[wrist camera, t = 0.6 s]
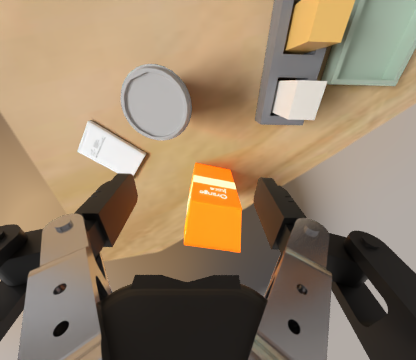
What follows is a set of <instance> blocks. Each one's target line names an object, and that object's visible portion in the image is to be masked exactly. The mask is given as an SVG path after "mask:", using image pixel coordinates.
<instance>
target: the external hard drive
mask: <svg viewBox="0 0 416 360" xmlns="http://www.w3.org/2000/svg"><path fill="white" fill-rule="evenodd" d="M78 152H79V153H81V154H83V155H85V156H86V157H88V158H90V159H92V160H94V161H96V162H98V163H100V164H101V165H103V166H105V167H107V168H109V169H111V170H113V171H115V172H116V173H126V174H132V175H133V176H134V175H135V173H136V171H137V169H138V168H139V166H140V164H141V163H142V161H143V159H144V157H145V156H146V154H147V153H145V152H143V151H142V150H140V149H138V148H137V147H135V146H133V145H132V144H130V143H128V142H127V141H125V140H123V139H122V138H120V137H118V136H117V135H115V134H113V133H112V132H110V131H108V130H107V129H105V128H103V127H101V126H100V125H98V124H96V123H95V122H93V121H91V120H90V121H88V122H87V125H86V128H85V131H84V134H83V137H82V139H81V142H80V145H79V148H78Z"/></svg>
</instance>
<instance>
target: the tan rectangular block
mask: <svg viewBox="0 0 416 360" xmlns="http://www.w3.org/2000/svg"><path fill="white" fill-rule="evenodd" d="M354 3H355V0H301V1H299V2H298V3H297V4H296V5H295V6H294V7H293V8H292V13H291V17H290V22H289V27H288V32H287V37H286V42H285V46H284V51H283V54H298V55H300V54H304V53H307V52H311V51H314V50H317V49H321V48H324V47H327V46H331V45H334V44H338V43H341V41H342V38H343V35H344V32H345V29H346V26H347V23H348V20H349V17H350V14H351V11H352V8H353V6H354Z"/></svg>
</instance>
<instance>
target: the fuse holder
mask: <svg viewBox="0 0 416 360" xmlns="http://www.w3.org/2000/svg"><path fill="white" fill-rule="evenodd" d="M299 1H301V0H274V5H273V11H272V17H271V23H270V30H269V36H268V42H267V48H266V54H265V60H264V67H263V73H262V79H261V85H260V91H259V97H258V103H257V110H256V116H255V121H257V122H258V123H259V124H267V125H303V122H304V120H288V119H286V118H283V117H281V116H279V115H277V114H274V113H271V109H272V105H273V100H274V95H275V90H276V85H277V80H278V78H296V80H308V81H317V77H318V74H319V71H320V68H321V65H322V61H323V58H324V55H325V52H326V48H327V47H324V48H321V49H317V50H314V51H311V52H307V53H304V54H303V55H298V54H283V51H284V46H285V42H286V37H287V32H288V27H289V22H290V17H291V13H292V8H293V7H294V6H295V5H296V4H297V3H298V2H299Z"/></svg>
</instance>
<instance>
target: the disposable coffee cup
mask: <svg viewBox="0 0 416 360" xmlns="http://www.w3.org/2000/svg"><path fill="white" fill-rule="evenodd" d="M121 106H122V109H123V113H124V115H125V117H126V119H127V121H128V122H129V124H130V125H131V126H132V127H133V128H134V129H135V130H136V131H137V132H139V133H140V134H142V135H143V136H146V137H148V138H151V139H155V140H169V139H172V138H175V137H177V136H178V135H180V134H181V133H182V132H183V131H184V130H185V128H186V127H187V125H188V123H189V121H190V118H191V112H192V105H191V98H190V95H189V92H188V89H187V87H186V86H185V84H184V82H183V81H182V80H181V79H180V77H179V76H177V75H176V74H175V73H174V72H173V71H171V70H170V69H168V68H166V67H164V66H160V65H157V64H146V65H141V66H139V67H136V68H135V69H134V70H132V71H131V72H130V73H129V74H128V75H127V77H126V78H125V80H124V83H123V85H122V90H121Z"/></svg>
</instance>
